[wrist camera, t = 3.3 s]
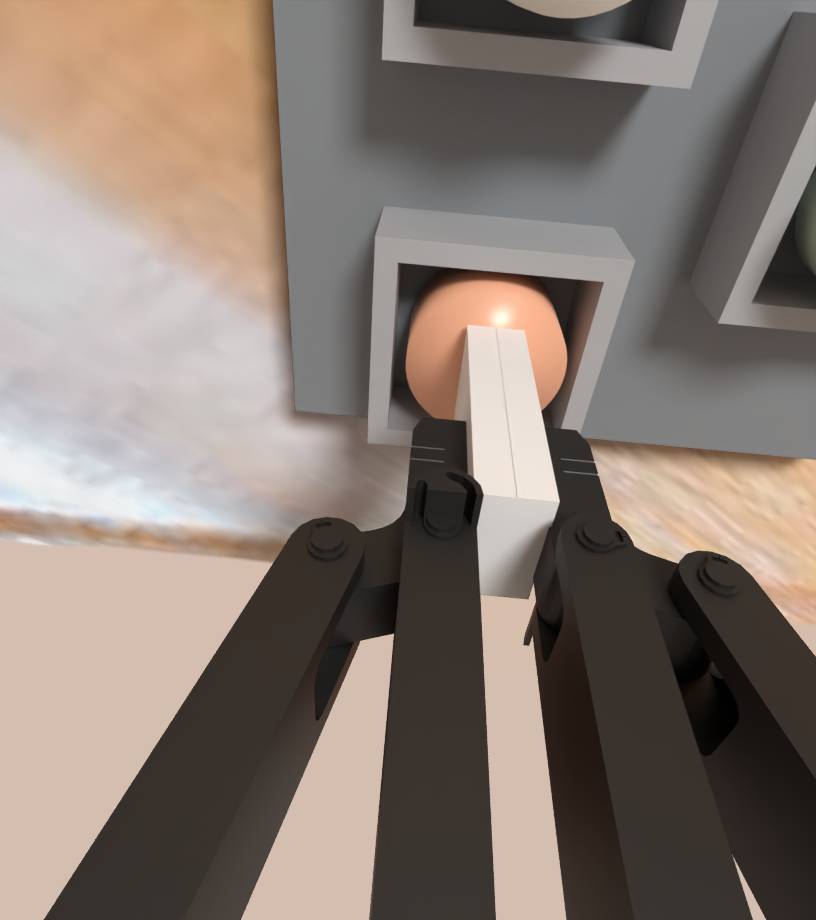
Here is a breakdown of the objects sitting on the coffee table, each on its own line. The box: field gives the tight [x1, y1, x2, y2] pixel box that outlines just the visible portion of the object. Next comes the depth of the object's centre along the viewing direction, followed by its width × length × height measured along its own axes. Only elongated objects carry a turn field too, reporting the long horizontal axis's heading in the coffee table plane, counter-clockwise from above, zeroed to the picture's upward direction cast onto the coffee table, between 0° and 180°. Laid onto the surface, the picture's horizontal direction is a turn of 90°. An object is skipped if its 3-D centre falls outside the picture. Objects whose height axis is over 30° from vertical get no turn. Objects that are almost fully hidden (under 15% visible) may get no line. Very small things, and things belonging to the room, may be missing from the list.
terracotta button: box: [406, 267, 567, 420], centre depth 17 cm, size 4×4×2 cm
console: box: [273, 0, 816, 460], centre depth 15 cm, size 20×18×4 cm
